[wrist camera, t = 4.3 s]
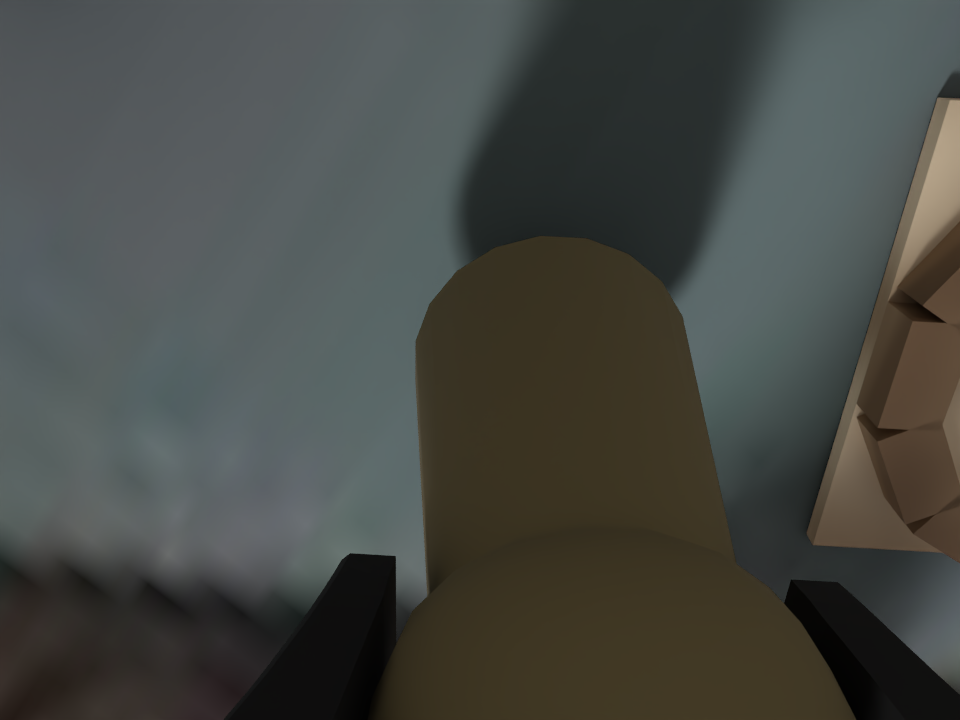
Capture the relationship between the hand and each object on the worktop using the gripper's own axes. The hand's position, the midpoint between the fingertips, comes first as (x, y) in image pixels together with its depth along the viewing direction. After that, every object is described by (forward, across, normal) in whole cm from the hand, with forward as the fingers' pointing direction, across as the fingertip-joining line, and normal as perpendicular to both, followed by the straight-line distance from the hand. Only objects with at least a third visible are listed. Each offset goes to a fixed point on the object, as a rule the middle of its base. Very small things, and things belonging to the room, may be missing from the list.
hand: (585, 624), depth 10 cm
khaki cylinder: (+7, 0, 0) cm, 7 cm away
